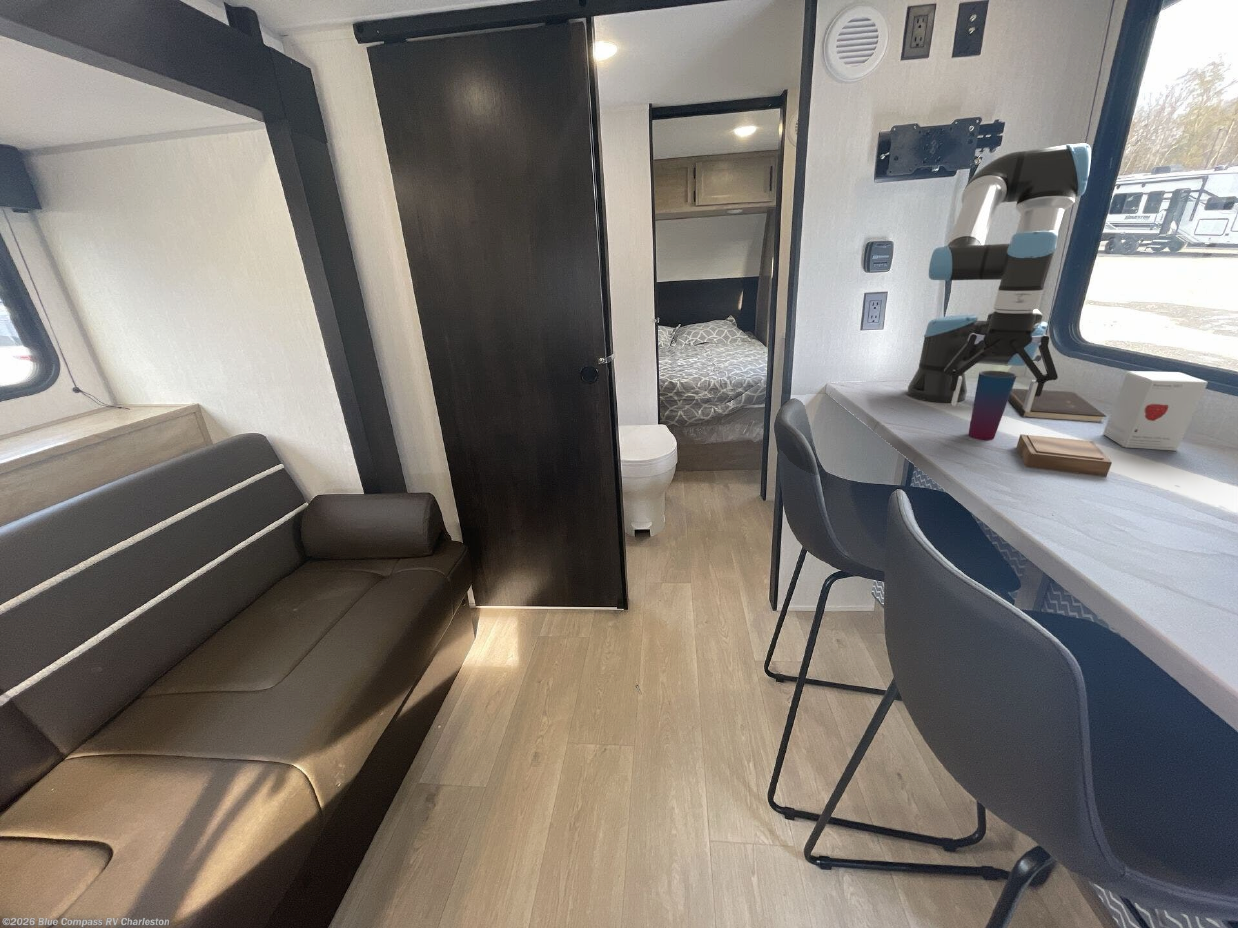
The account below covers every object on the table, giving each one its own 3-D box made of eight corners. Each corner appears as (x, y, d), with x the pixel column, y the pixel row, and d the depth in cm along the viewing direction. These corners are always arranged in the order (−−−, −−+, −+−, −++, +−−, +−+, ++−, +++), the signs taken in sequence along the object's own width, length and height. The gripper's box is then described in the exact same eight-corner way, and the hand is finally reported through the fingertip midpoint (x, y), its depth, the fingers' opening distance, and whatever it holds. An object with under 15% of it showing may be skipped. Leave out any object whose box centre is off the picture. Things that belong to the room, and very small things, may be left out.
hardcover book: (1071, 399, 136) (1073, 391, 135) (1102, 424, 117) (1106, 415, 116) (1002, 395, 143) (1004, 388, 142) (1021, 418, 124) (1024, 410, 123)
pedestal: (1016, 446, 106) (1020, 433, 105) (1087, 454, 101) (1093, 439, 99) (1026, 466, 97) (1031, 452, 95) (1106, 476, 91) (1112, 460, 90)
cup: (1005, 441, 109) (1023, 377, 103) (971, 441, 111) (988, 377, 105) (990, 431, 115) (1006, 370, 109) (958, 431, 117) (973, 370, 111)
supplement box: (1123, 448, 103) (1150, 380, 97) (1101, 434, 110) (1125, 370, 104) (1179, 451, 100) (1210, 381, 94) (1152, 437, 107) (1180, 371, 101)
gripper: (946, 312, 104) (926, 406, 112) (1098, 313, 93) (1063, 417, 101) (944, 309, 110) (925, 398, 118) (1086, 309, 99) (1054, 408, 107)
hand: (988, 407), depth 110 cm, fingers open, 13 cm apart
